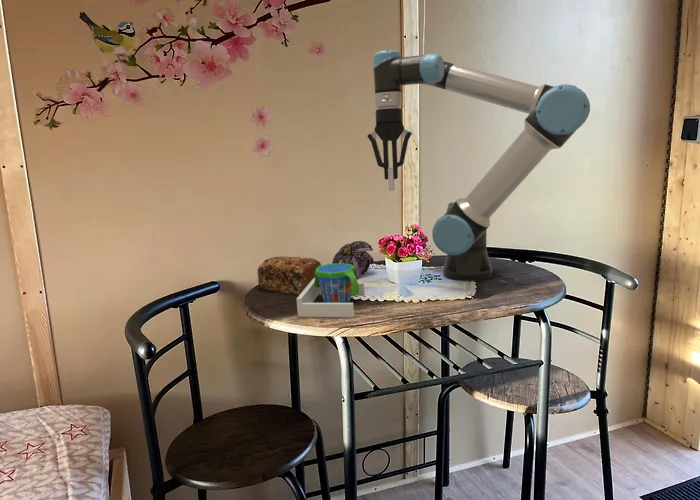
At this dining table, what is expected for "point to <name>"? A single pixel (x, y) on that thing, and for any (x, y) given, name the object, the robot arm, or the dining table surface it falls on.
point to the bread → (287, 274)
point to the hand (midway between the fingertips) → (391, 190)
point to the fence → (323, 304)
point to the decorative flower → (355, 256)
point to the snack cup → (336, 282)
